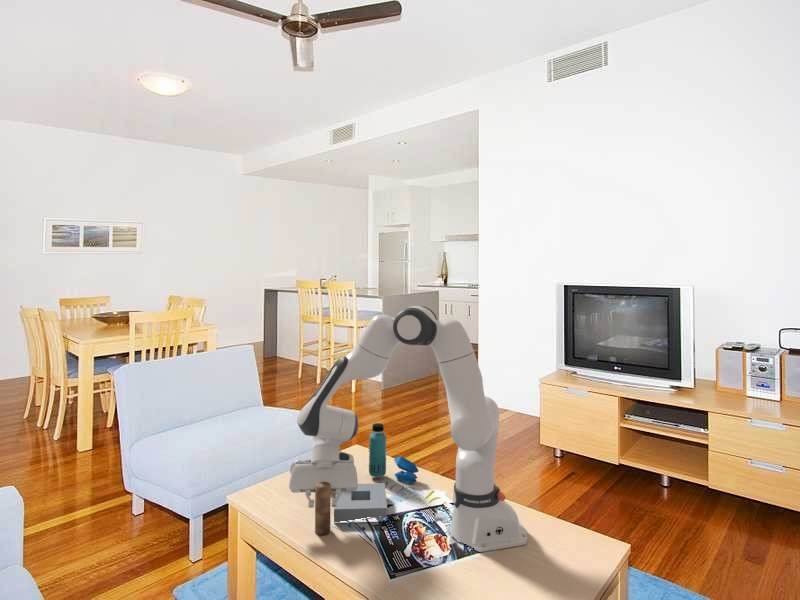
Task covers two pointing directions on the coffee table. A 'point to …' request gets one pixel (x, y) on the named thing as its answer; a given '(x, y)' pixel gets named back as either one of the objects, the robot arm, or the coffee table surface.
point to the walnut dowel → (322, 508)
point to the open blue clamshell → (407, 466)
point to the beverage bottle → (377, 451)
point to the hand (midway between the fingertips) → (322, 506)
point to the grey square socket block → (361, 503)
